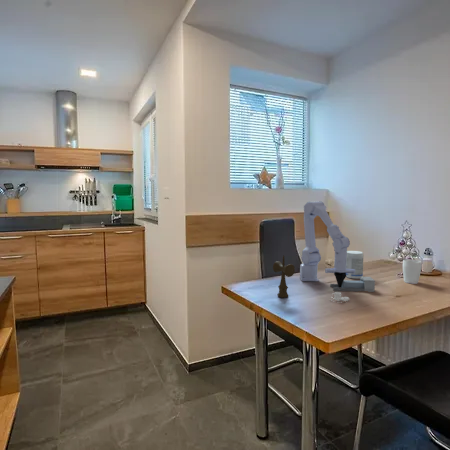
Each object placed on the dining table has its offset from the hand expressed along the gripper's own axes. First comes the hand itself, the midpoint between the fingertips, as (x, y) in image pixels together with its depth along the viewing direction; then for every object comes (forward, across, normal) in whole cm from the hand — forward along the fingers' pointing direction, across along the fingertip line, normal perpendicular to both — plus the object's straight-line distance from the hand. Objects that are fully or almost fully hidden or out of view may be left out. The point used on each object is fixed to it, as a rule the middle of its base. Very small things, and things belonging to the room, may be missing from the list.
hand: (339, 286), depth 161 cm
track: (+1, +5, 0) cm, 5 cm away
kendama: (+1, -30, -15) cm, 33 cm away
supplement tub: (+1, +14, +24) cm, 28 cm away
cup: (+1, +42, +16) cm, 45 cm away
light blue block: (+1, +8, 0) cm, 8 cm away
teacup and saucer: (+2, -4, -20) cm, 21 cm away
